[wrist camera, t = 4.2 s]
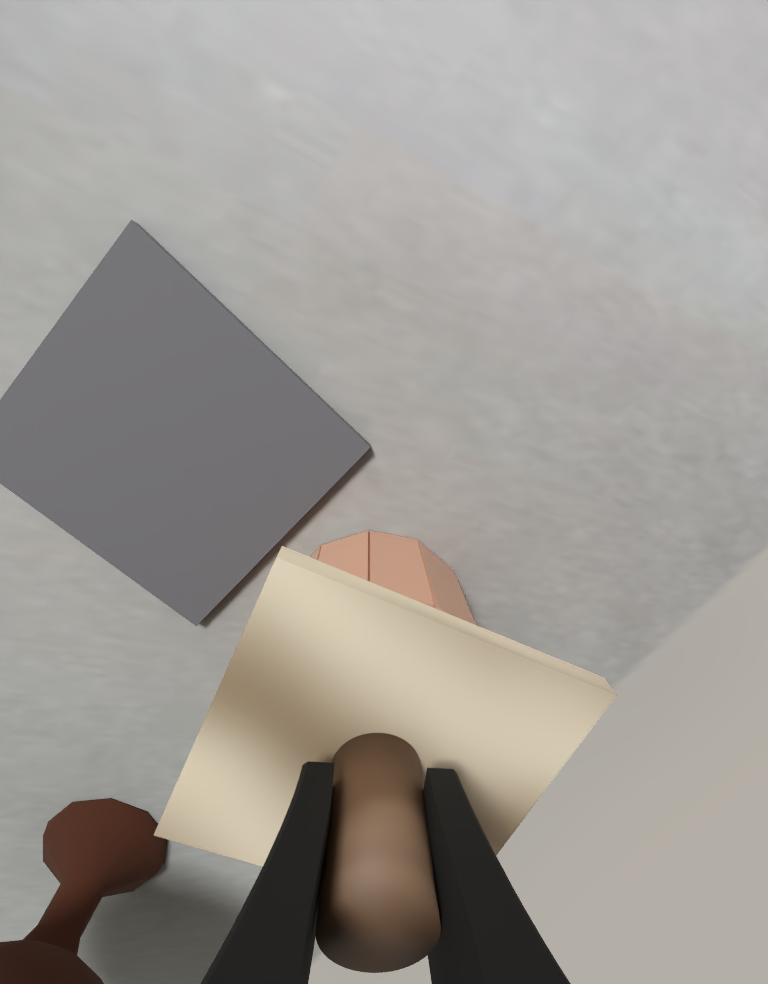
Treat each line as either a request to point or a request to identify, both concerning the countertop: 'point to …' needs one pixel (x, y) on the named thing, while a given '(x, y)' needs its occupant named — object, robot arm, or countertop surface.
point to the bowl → (398, 569)
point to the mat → (167, 431)
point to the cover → (374, 745)
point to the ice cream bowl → (82, 886)
